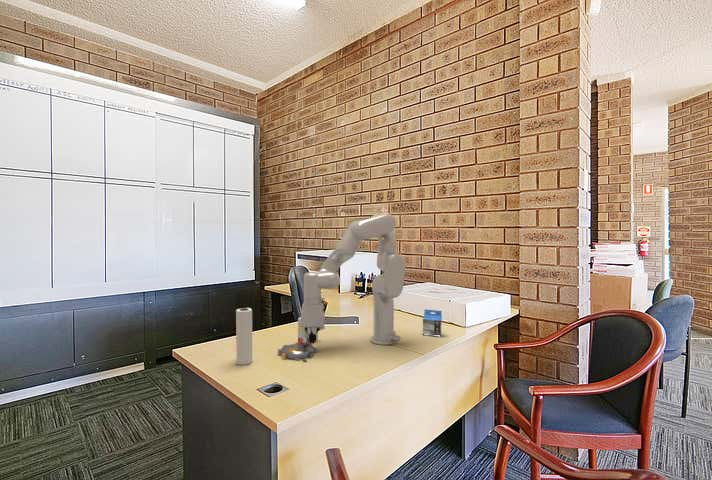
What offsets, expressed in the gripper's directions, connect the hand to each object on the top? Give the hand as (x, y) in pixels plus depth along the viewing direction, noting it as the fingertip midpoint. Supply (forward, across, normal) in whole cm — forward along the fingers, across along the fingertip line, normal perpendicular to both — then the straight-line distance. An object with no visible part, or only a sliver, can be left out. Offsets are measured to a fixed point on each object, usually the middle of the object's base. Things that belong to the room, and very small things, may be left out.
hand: (312, 342), depth 156 cm
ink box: (+4, +5, -11) cm, 13 cm away
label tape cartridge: (+4, -55, -28) cm, 61 cm away
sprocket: (+4, +6, +4) cm, 8 cm away
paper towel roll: (+4, +24, +16) cm, 29 cm away
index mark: (+4, +1, +12) cm, 13 cm away
